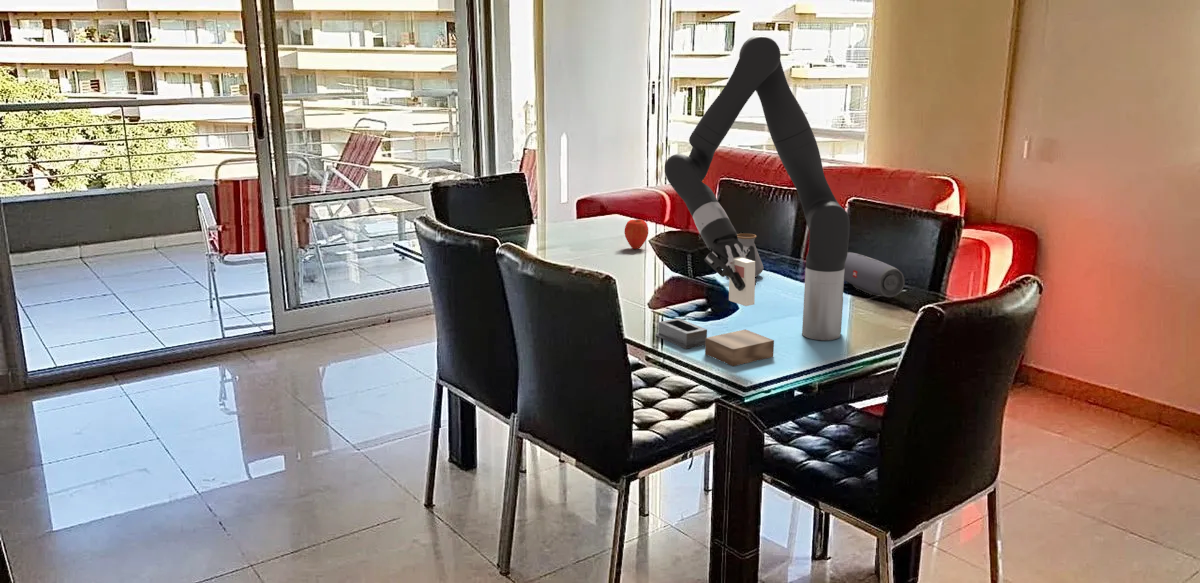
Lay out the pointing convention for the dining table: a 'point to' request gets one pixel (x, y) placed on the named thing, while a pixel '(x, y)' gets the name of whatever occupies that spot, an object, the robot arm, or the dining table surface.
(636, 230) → the apple
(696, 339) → the grey box
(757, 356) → the brown wooden block
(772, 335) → the dining table surface
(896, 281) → the bluetooth speaker
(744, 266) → the white box
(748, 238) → the coffee pot
